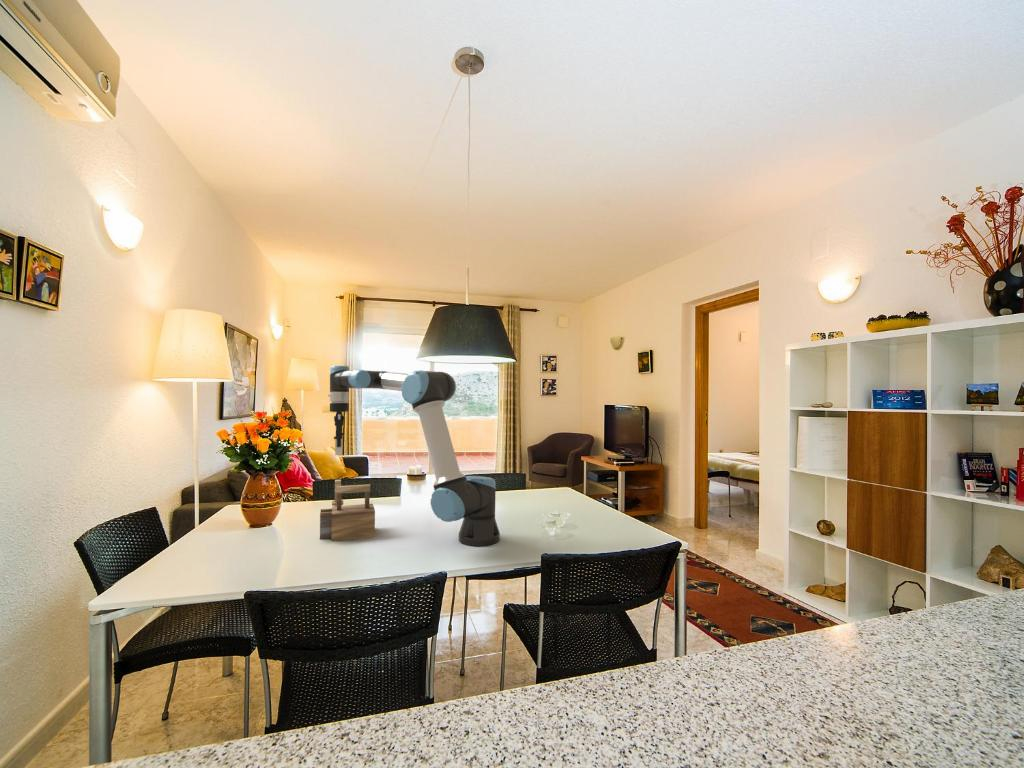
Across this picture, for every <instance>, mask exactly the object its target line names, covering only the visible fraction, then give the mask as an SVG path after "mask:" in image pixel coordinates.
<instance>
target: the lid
mask: <svg viewBox="0 0 1024 768" xmlns="http://www.w3.org/2000/svg"><path fill="white" fill-rule="evenodd" d="M353 493H364V503H363V504H349V505H342V500H343V497H342V496H343V495H342V494H353ZM370 494H371V484H369V483H368V484H367V483H366V484H352V485H341V486H337V506H335V505H334V506H331V508H321V509H320V513H319V518H320V517H332V519H334V518H346V517H358V516H370V515H375V516H376V510H375V507H374V504H373V503H370V497H371V496H370Z"/></svg>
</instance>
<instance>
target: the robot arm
mask: <svg viewBox="0 0 1024 768" xmlns="http://www.w3.org/2000/svg"><path fill="white" fill-rule="evenodd" d="M456 384H457V383H456V381H455V379H454V377H453V376H452V375H451V374H449V373H448V372H444V371H432V370H423V369H421V370H413V371H411V372H408V373H403V372H395V371H394V372H393V371H392V372H391V371H386V370H381V371H379V370H365V369H351V370H350V367H349V365H332V366H331V367H330V372H329V394H328V397H329V401H330V403H329V412H330V413H335V415H334V416H333V421H334V426H335V436H333V440H334V441H335V442H334V449H335V450H334V451H335V452H334V456H343V437H344V432H343V426H344V421H345V416H344V415H343V413H347V412H349V409H350V408H349V407H350V406H349V405H350V404H349V403H348V402H349V401H350V390H349V389H358V390H359V389H379V390H390V391H396V392H397V391H398V392H401V396H402V398H403V400H404V402H407V403H408V404H411V406H412V411H413V413H416V414H417V415H418V416H419V420H420V424H421V428H422V431H423V435H424V439H425V443H426V446H427V450H428V453H429V458H430V461H431V464H432V469H433V473H434V475H435V481H434V483H433V490H434V491H433V492H432V493H431V498H430V507H431V509H432V512H433V514H434V515H435V516H436V517H437V518H438V519H439V520H441V521H443V522H447V523H451V522H454V521H455V522H457V521H460V520H462V519H463V520H462V523H461V525H460V529H459V531H458V542H459V543H461V544H463V545H466V546H473V547H481V546H482V547H485V546H490V545H491V546H492V545H494V544H497V543H499V541H500V540H501V537H500V536H501V534H500V530H499V527H498V523H497V520H496V491H497V487H496V480H495V479H494V478H492V477H488V476H481V475H465V474H463V473H462V472H461V471H460V467H459V464H458V460H457V456H456V452H455V449H454V446H453V441H452V439H451V435H450V431H449V427H448V425H447V420H446V417H445V414H444V413H445V412H444V410H443V407H444V406H445V403H446V402H447V401H449V400H450V399H452V397H453V396H454V395H455V392H456V390H457V389H456V388H457V385H456Z"/></svg>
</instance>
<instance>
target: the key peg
mask: <svg viewBox="0 0 1024 768" xmlns="http://www.w3.org/2000/svg"><path fill="white" fill-rule="evenodd" d="M337 486H342V479H335V480H334V500H332V501H331V507H333V506H337ZM342 506H344V499H342Z"/></svg>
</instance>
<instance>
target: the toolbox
mask: <svg viewBox="0 0 1024 768" xmlns="http://www.w3.org/2000/svg"><path fill="white" fill-rule="evenodd" d="M375 529H376V514H375V515H370V516H358V517H346V518H334V519H332V517H320V516H319V540H322V539H323V540H324V539H325V540H326V539H331V542H336V541H344V540H355V539H356V540H357V539H365V538H366V539H367V538H374V537H376V536H375V534H376V530H375Z"/></svg>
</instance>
